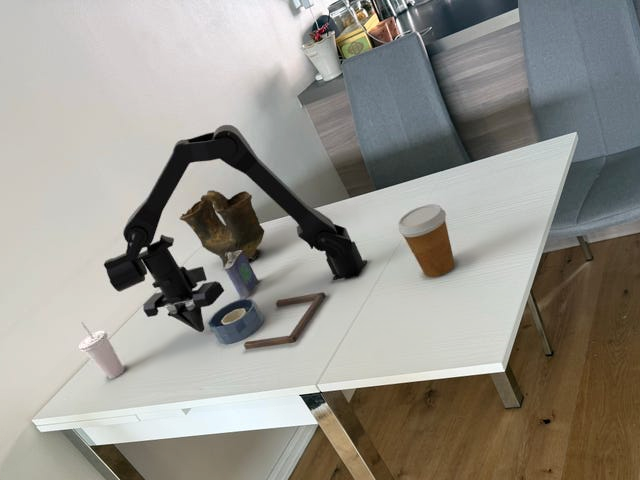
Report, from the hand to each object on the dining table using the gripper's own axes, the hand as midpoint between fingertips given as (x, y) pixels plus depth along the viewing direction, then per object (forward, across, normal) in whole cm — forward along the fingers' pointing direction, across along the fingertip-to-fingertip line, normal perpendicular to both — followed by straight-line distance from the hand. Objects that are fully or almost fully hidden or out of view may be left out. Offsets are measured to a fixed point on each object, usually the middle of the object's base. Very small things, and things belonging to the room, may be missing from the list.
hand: (202, 330), depth 151 cm
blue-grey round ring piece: (+2, -10, 0) cm, 10 cm away
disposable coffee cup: (+2, -53, -12) cm, 55 cm away
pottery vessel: (+2, +11, -37) cm, 39 cm away
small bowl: (+1, -10, 0) cm, 10 cm away
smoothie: (+2, +20, +10) cm, 22 cm away
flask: (+2, -2, -18) cm, 18 cm away
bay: (+2, -22, 0) cm, 22 cm away
